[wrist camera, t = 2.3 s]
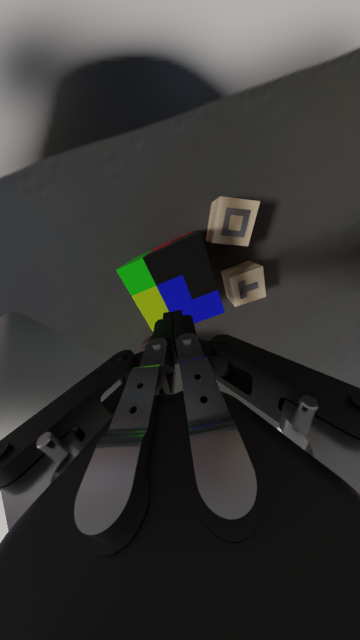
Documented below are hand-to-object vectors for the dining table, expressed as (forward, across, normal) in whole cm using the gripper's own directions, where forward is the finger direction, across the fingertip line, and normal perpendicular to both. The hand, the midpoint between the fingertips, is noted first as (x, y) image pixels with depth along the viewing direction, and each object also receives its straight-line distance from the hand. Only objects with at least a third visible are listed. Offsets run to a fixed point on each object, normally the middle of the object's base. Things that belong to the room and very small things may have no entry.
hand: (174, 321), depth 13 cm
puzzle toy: (+17, 0, 0) cm, 17 cm away
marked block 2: (+17, -11, +3) cm, 21 cm away
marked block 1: (+17, -9, -6) cm, 20 cm away
